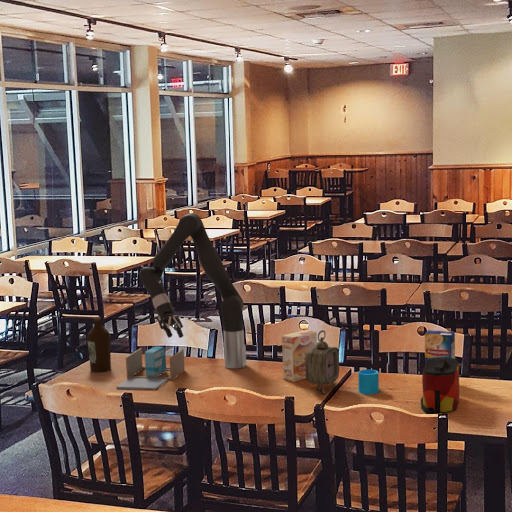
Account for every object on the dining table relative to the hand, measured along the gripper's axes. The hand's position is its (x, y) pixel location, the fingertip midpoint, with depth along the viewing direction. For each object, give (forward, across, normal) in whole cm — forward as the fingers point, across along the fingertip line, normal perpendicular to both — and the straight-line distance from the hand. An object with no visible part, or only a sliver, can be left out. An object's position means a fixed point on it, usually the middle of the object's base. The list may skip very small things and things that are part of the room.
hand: (176, 336), depth 395 cm
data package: (+12, -4, +15) cm, 19 cm away
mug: (+62, +10, -69) cm, 93 cm away
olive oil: (-4, -7, +41) cm, 42 cm away
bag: (+81, +3, -95) cm, 125 cm away
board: (+17, -20, +13) cm, 29 cm away
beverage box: (+72, +28, -91) cm, 119 cm away
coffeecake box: (+42, +17, -40) cm, 60 cm away
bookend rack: (+11, -4, +15) cm, 19 cm away
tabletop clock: (+54, +3, -53) cm, 76 cm away
